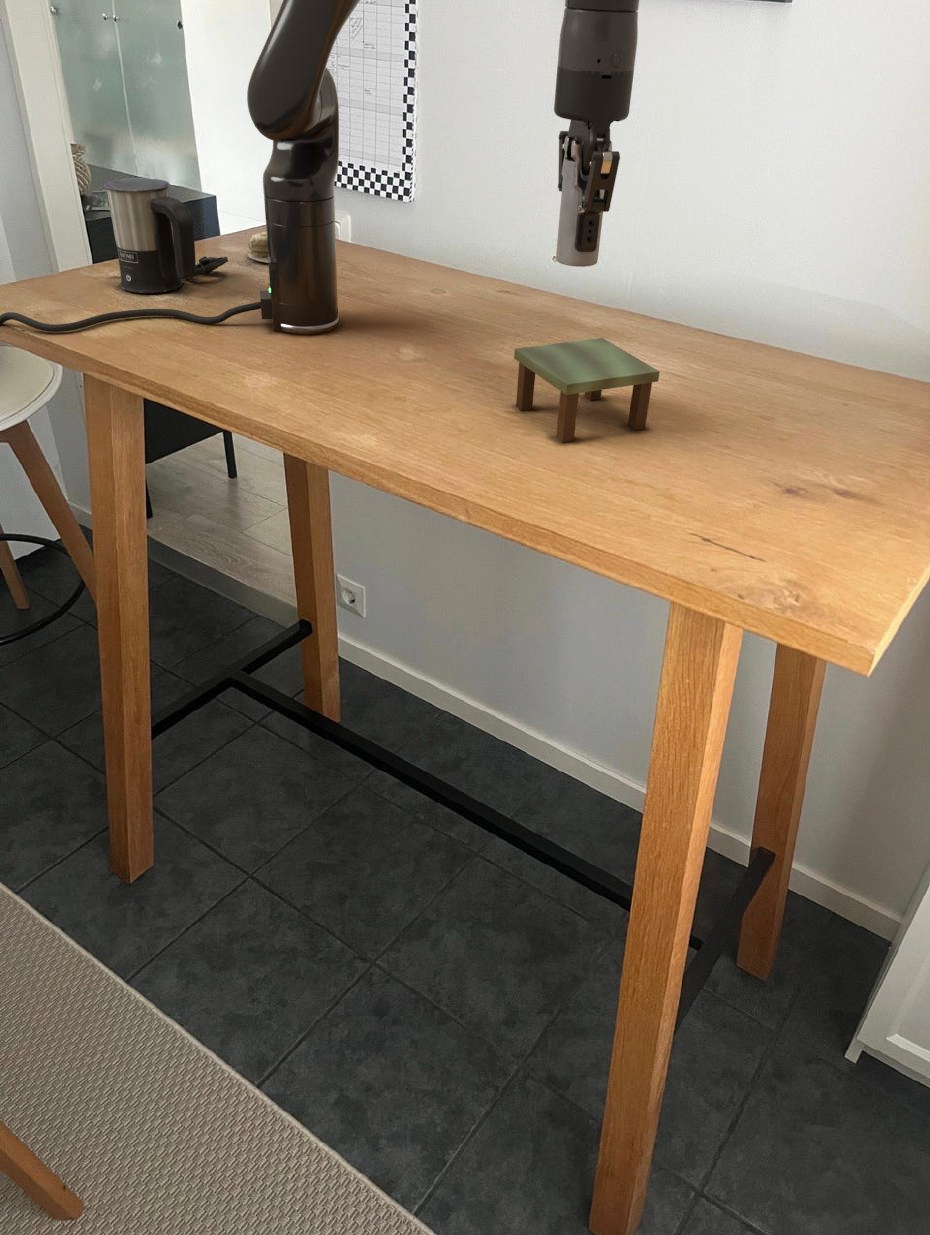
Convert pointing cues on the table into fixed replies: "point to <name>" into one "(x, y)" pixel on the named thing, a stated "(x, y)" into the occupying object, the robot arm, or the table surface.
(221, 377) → the table surface
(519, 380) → the plant stand
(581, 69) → the robot arm
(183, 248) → the milk frother
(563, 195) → the grey hollow tube
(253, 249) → the cake
